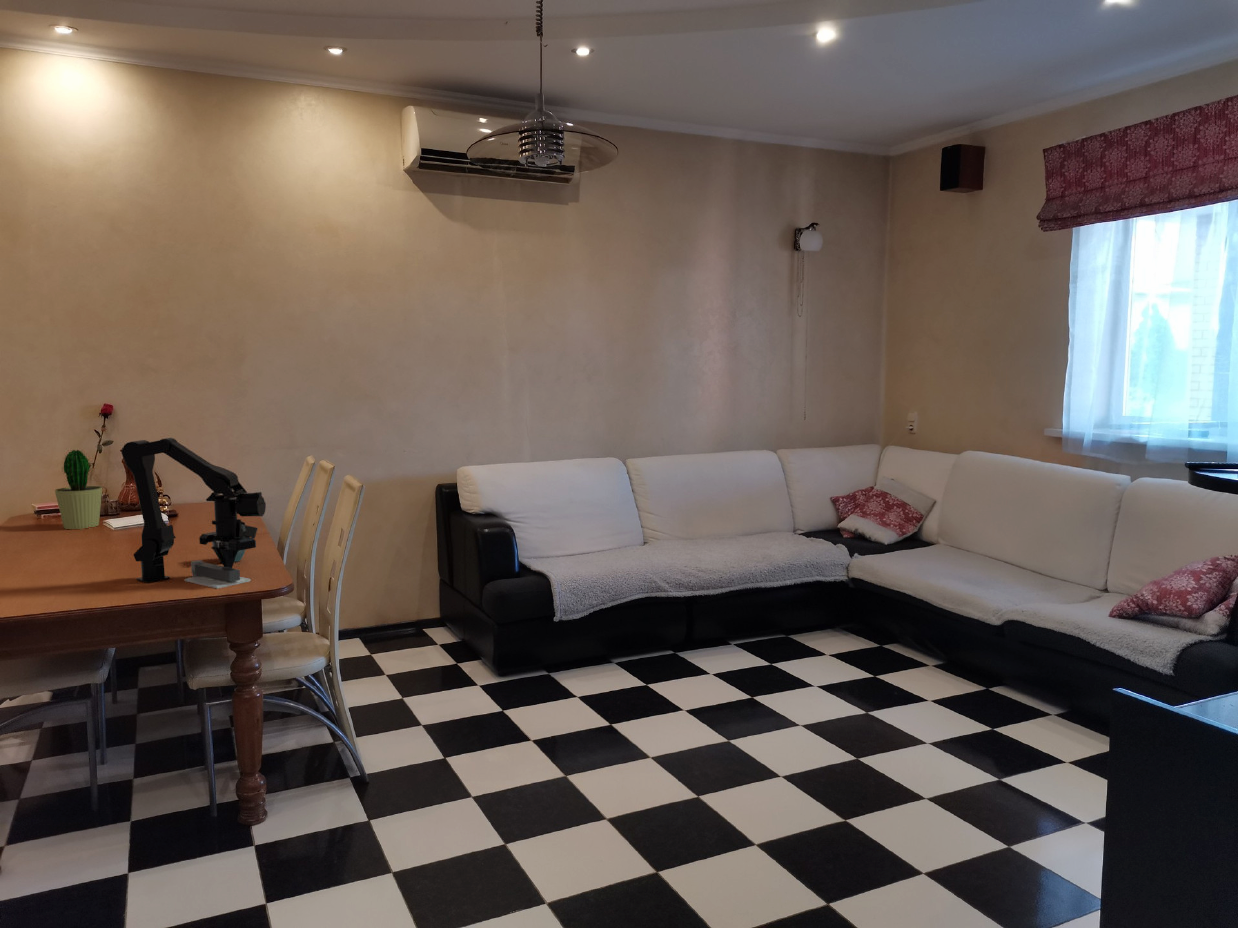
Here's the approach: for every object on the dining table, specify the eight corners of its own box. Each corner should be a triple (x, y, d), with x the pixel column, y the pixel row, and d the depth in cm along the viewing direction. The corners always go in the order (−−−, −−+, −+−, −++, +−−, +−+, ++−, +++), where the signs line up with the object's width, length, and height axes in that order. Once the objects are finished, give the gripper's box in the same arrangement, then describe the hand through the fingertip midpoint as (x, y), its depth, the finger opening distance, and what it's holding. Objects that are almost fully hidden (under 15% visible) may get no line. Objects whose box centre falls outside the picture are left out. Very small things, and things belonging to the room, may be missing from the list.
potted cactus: (113, 525, 338) (107, 447, 335) (70, 532, 325) (64, 450, 322) (91, 522, 346) (86, 445, 343) (49, 528, 333) (43, 449, 330)
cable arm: (189, 572, 254) (188, 561, 254) (199, 570, 257) (198, 559, 256) (229, 581, 243) (229, 570, 243) (239, 579, 245) (239, 568, 245)
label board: (178, 579, 251) (178, 576, 251) (211, 572, 259) (211, 569, 259) (217, 588, 240) (217, 585, 240) (250, 581, 249) (250, 577, 249)
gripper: (271, 515, 251) (274, 569, 252) (232, 509, 261) (235, 561, 263) (235, 521, 241) (238, 577, 243) (196, 515, 252) (199, 568, 253)
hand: (229, 570), depth 251 cm, fingers closed
